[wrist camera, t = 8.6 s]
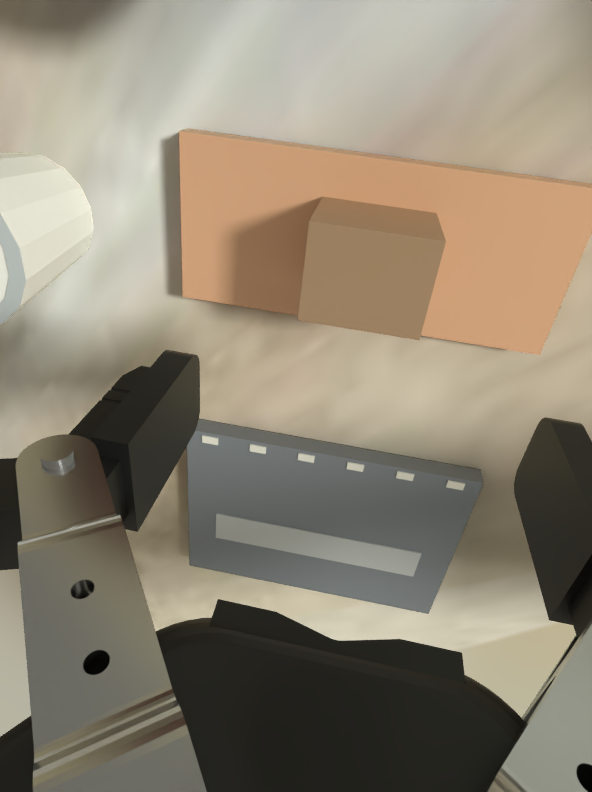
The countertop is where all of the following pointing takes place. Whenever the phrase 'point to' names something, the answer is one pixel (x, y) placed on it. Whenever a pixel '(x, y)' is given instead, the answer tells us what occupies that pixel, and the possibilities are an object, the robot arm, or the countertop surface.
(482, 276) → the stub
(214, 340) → the countertop surface
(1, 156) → the shot glass
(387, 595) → the board
